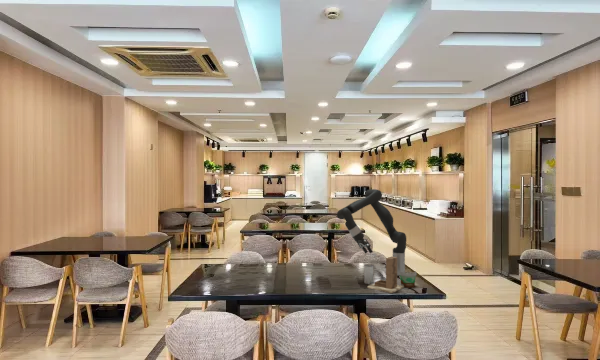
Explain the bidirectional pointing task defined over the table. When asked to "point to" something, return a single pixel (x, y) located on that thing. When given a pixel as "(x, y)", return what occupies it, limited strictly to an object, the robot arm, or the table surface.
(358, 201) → the robot arm
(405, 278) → the food container
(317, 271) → the table surface
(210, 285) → the table surface
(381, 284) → the wooden backboard stand
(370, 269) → the grey rectangular block
